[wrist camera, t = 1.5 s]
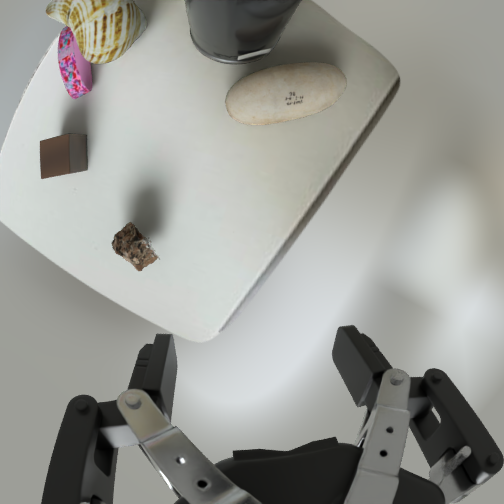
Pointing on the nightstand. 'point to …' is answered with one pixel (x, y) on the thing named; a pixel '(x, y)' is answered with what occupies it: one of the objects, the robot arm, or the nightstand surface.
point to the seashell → (100, 26)
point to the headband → (73, 65)
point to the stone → (285, 93)
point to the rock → (134, 247)
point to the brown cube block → (63, 155)
